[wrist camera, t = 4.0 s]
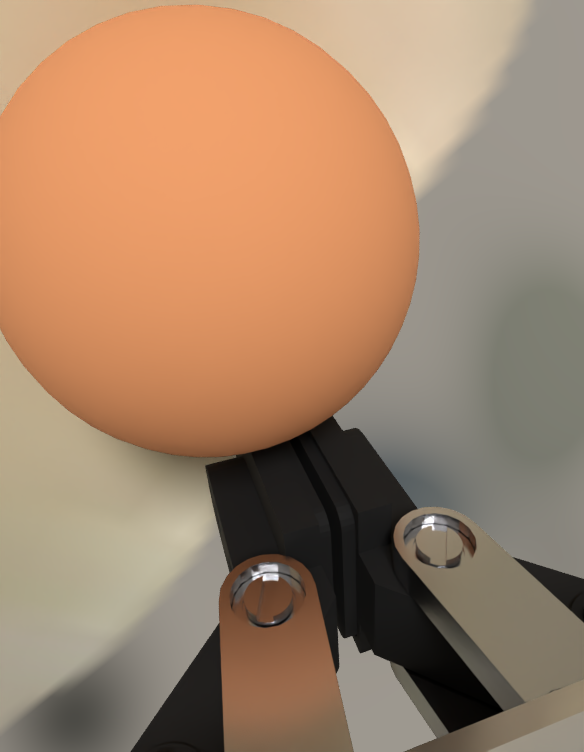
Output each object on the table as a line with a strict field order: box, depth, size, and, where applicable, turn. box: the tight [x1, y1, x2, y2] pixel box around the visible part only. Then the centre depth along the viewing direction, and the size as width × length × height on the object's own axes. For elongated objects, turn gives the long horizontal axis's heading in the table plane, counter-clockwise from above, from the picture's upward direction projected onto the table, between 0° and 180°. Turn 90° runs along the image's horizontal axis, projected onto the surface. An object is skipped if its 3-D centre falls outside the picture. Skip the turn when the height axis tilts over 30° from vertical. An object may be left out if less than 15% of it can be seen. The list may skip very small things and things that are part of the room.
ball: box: [0, 5, 419, 457], centre depth 8 cm, size 6×6×6 cm
